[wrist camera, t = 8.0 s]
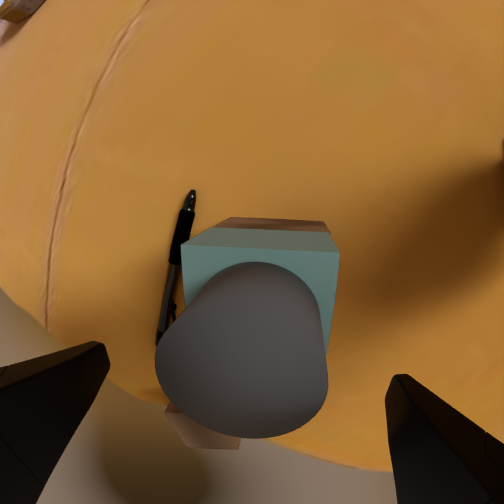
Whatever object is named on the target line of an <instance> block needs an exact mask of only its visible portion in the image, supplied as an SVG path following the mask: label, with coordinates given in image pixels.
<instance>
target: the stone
mask: <svg viewBox="0 0 504 504" xmlns="http://www.w3.org/2000/svg"><path fill="white" fill-rule="evenodd" d="M155 369H156V374H157V377H158V381H159V383H160V385H161V387H162V389H163V391H164V392H165V394H166V396H167V397H168V398H169V399H170V401H171V402H172V403H173V404H174V405H175V406H176V407H177V408H178V409H179V410H180V411H181V412H182V413H183V414H185V415H186V416H187V417H189V418H190V419H191V420H193V421H195V422H196V423H198V424H200V425H201V426H204V427H206V428H208V429H210V430H213V431H215V432H218V433H221V434H225V435H228V436H233V437H239V438H254V439H258V438H269V437H275V436H279V435H283V434H286V433H289V432H291V431H294V430H296V429H298V428H300V427H301V426H303V425H304V424H306V423H307V422H309V421H310V420H311V419H312V418H313V417H314V416H315V415H316V414H317V413H318V411H319V410H320V409H321V407H322V405H323V403H324V401H325V399H326V396H327V391H328V373H327V364H326V355H325V347H324V339H323V332H322V324H321V317H320V311H319V307H318V303H317V301H316V298H315V296H314V294H313V293H312V291H311V289H310V288H309V287H308V286H307V284H306V283H305V282H304V281H303V280H302V279H301V278H300V277H298V276H297V275H295V274H294V273H293V272H291V271H289V270H287V269H285V268H283V267H281V266H278V265H275V264H271V263H267V262H259V261H255V262H242V263H238V264H234V265H232V266H229V267H227V268H225V269H223V270H221V271H220V272H218V273H217V274H216V275H215V276H213V277H212V278H211V279H210V280H209V282H208V283H207V284H206V285H205V286H204V287H203V288H202V290H201V291H200V292H199V293H198V294H197V295H196V297H195V298H194V299H193V300H192V301H191V302H190V304H189V305H188V306H187V307H186V308H185V309H184V311H183V312H182V313H181V314H180V315H179V316H178V318H177V319H176V320H175V321H174V322H173V324H172V325H171V326H170V327H169V328H168V329H167V331H166V332H165V333H164V334H163V336H162V338H161V339H160V341H159V343H158V346H157V348H156V353H155Z"/></svg>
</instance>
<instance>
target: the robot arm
mask: <svg viewBox="0 0 504 504" xmlns="http://www.w3.org/2000/svg"><path fill="white" fill-rule="evenodd" d="M109 369H110V361H109V357H108V354H107V351H106V347H105V345H104V344H103V343H100V342H97V341H90V342H87V343H84V344H81V345H78V346H74V347H71V348H68V349H65V350H61V351H58V352H54V353H51V354H48V355H44V356H40V357H37V358H33V359H30V360H26V361H23V362H19V363H15V364H12V365H9V366H4V367H0V504H36V502H37V500H38V499H39V497H40V495H41V493H42V491H43V489H44V487H45V485H46V483H47V481H48V479H49V477H50V475H51V473H52V472H53V469H54V468H55V466H56V464H57V462H58V461H59V459H60V457H61V455H62V454H63V452H64V450H65V448H66V446H67V445H68V443H69V441H70V440H71V438H72V436H73V435H74V433H75V431H76V430H77V428H78V426H79V425H80V423H81V421H82V419H83V418H84V416H85V415H86V413H87V411H88V410H89V408H90V407H91V405H92V403H93V402H94V399H95V398H96V396H97V393H98V391H99V389H100V387H101V385H102V383H103V381H104V379H105V377H106V375H107V373H108V371H109ZM385 408H386V418H387V431H388V443H389V450H390V455H391V461H392V467H393V473H394V480H395V486H396V495H397V503H398V504H504V444H503V443H502V442H500V441H499V440H497V439H496V438H495V437H493V436H492V435H490V434H489V433H488V432H486V433H485V430H483V429H482V428H481V427H479V426H478V425H476V424H475V423H474V422H472V421H471V420H470V419H468V418H467V417H465V416H464V415H463V414H461V413H460V412H459V411H457V410H456V409H454V408H453V407H452V406H450V405H449V404H448V403H446V402H445V401H444V400H442V399H441V398H439V397H438V396H437V395H435V394H434V393H433V392H431V391H430V390H429V389H427V388H426V387H424V386H423V385H422V384H420V383H419V382H418V381H416V380H415V379H414V378H412V377H411V376H409V375H408V374H396V375H394V376H393V378H392V380H391V383H390V385H389V388H388V390H387V393H386V396H385Z"/></svg>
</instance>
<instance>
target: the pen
mask: <svg viewBox="0 0 504 504" xmlns="http://www.w3.org/2000/svg"><path fill="white" fill-rule="evenodd" d="M195 204H196V191H195V190H190V192H189V194H188V195H187V197H186V199H185V202H184V205H183V208H182V209H181V210H180V212H179V217H178V221H177V225H176V229H175V233H174V237H173V241H172V245H171V250H170V258H169V267H168V272H167V277H166V283H165V288H164V293H163V299H162V305H161V311H160V317H159V323H158V328H157V332H156V341H155V344H156V346H158V343H159V341H160V339H161V338H162V336H163V334H164V333H165V332H166V331H167V329H168V328H169V324H170V318H171V313H172V318H173V322H174V321H175V320H176V317H175V310H176V307H177V306H176V304H174V306H173V303H174V298H175V293H176V288H177V283H178V279H179V274H180V270H181V265H182V259H181V244H183V243H185V242H187V241H188V240H189V237H190V232H191V228H192V224H193V220H194V217H195V213H194V209H195ZM172 308H173V310H172Z"/></svg>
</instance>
